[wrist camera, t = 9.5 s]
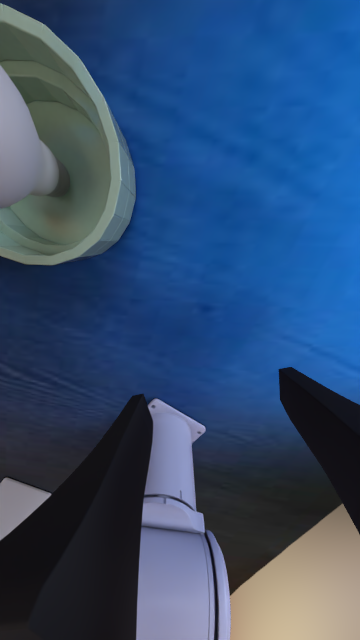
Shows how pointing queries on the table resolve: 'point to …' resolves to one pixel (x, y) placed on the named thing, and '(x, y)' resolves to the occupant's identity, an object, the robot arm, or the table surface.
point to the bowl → (64, 152)
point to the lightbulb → (24, 152)
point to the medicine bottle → (17, 503)
